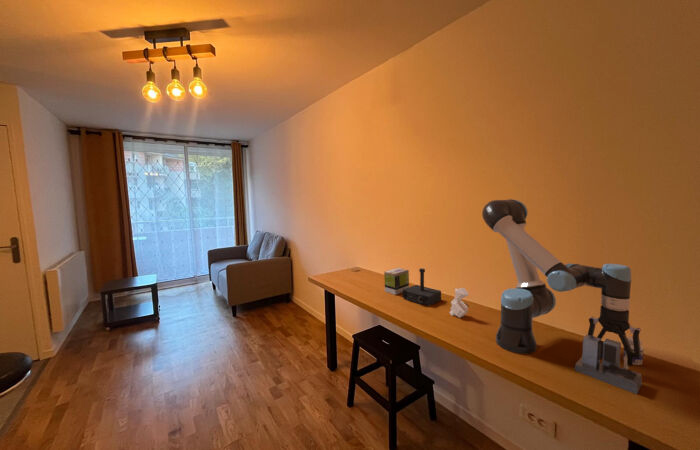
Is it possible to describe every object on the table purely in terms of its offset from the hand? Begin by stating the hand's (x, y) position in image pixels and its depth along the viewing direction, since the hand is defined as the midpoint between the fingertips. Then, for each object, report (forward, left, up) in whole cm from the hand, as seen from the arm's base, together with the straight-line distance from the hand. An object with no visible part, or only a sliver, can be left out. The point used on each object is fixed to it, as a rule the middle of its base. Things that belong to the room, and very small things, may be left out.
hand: (611, 367), depth 103 cm
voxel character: (-61, -1, 0) cm, 61 cm away
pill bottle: (+4, +12, 0) cm, 13 cm away
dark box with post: (-90, +3, -1) cm, 90 cm away
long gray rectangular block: (0, 0, 0) cm, 0 cm away
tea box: (-112, +4, -1) cm, 112 cm away
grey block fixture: (0, -8, 0) cm, 8 cm away
